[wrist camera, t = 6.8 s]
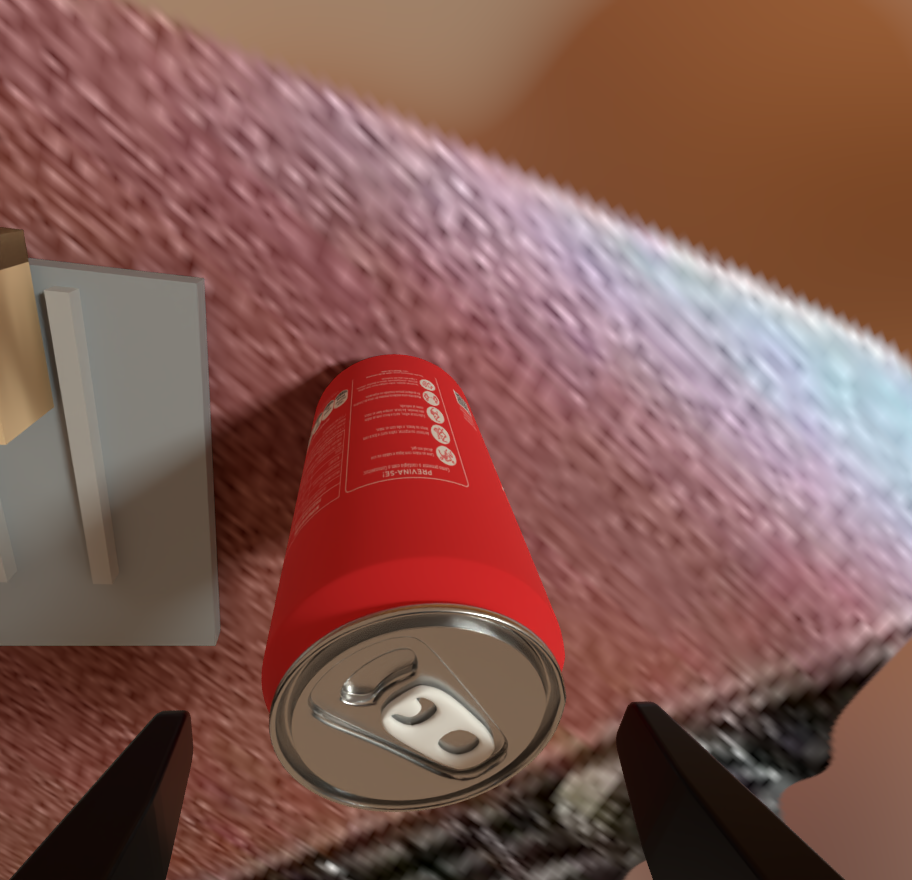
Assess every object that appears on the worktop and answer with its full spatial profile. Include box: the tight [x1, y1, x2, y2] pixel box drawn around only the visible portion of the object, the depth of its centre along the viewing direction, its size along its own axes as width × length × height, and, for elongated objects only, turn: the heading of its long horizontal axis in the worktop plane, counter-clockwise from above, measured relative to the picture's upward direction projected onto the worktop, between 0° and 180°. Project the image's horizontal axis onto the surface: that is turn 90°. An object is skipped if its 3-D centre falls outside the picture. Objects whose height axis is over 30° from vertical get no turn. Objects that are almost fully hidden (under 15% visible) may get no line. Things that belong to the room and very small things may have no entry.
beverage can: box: [262, 354, 566, 812], centre depth 14 cm, size 5×5×12 cm
